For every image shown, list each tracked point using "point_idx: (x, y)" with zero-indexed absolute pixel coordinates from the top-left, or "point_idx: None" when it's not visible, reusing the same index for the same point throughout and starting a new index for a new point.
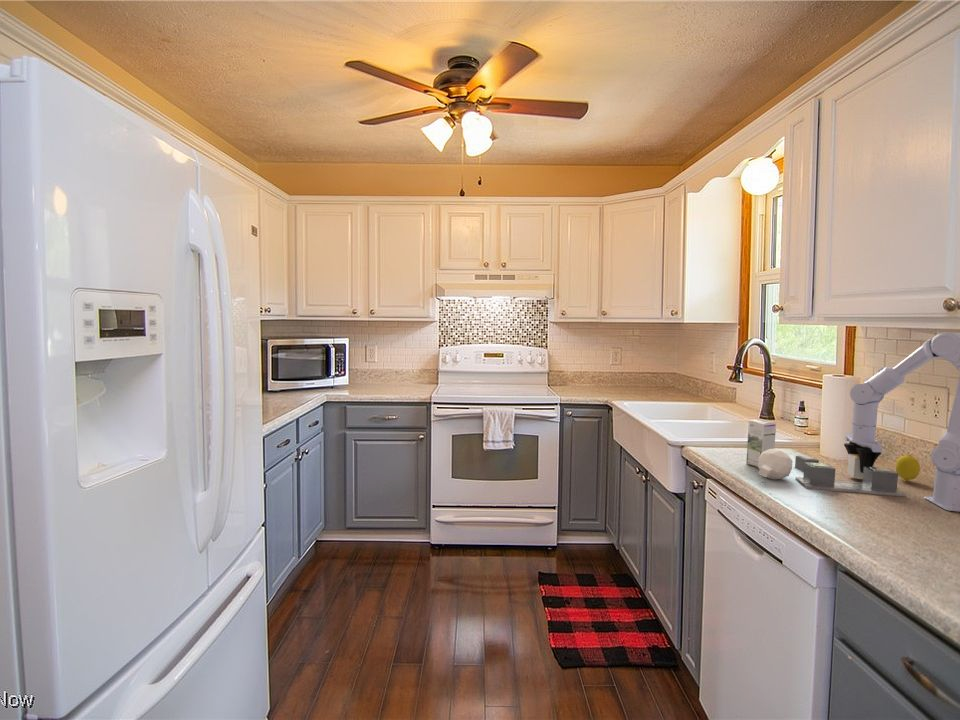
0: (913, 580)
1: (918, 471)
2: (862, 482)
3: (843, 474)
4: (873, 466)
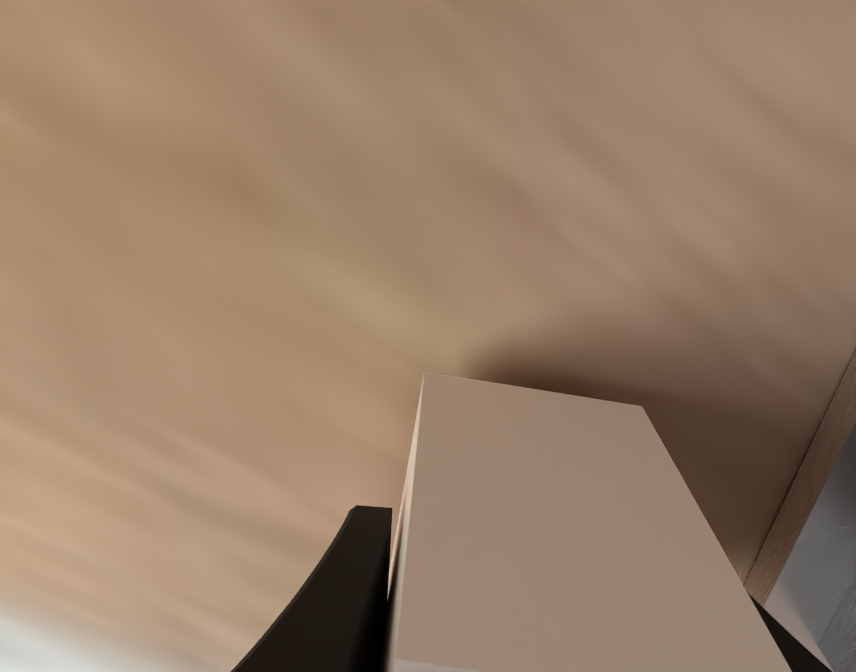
0: None
1: None
2: (826, 659)
3: (286, 529)
4: (722, 559)
